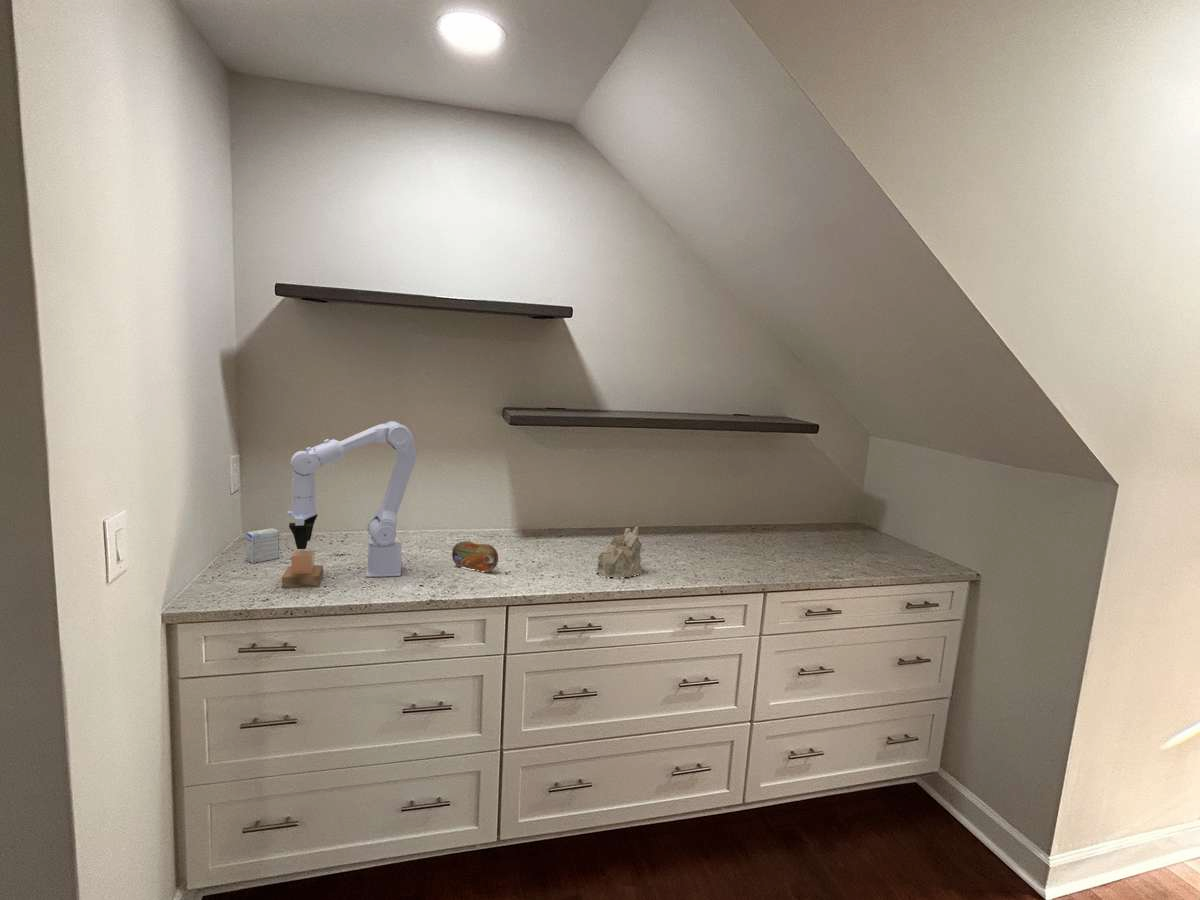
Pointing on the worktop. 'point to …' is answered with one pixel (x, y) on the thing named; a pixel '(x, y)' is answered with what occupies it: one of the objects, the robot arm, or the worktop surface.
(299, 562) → the terracotta cube
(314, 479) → the robot arm
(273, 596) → the worktop surface
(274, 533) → the medicine box
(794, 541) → the worktop surface
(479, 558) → the tin
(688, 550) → the worktop surface
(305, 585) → the walnut block
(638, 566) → the ceramic cottage
